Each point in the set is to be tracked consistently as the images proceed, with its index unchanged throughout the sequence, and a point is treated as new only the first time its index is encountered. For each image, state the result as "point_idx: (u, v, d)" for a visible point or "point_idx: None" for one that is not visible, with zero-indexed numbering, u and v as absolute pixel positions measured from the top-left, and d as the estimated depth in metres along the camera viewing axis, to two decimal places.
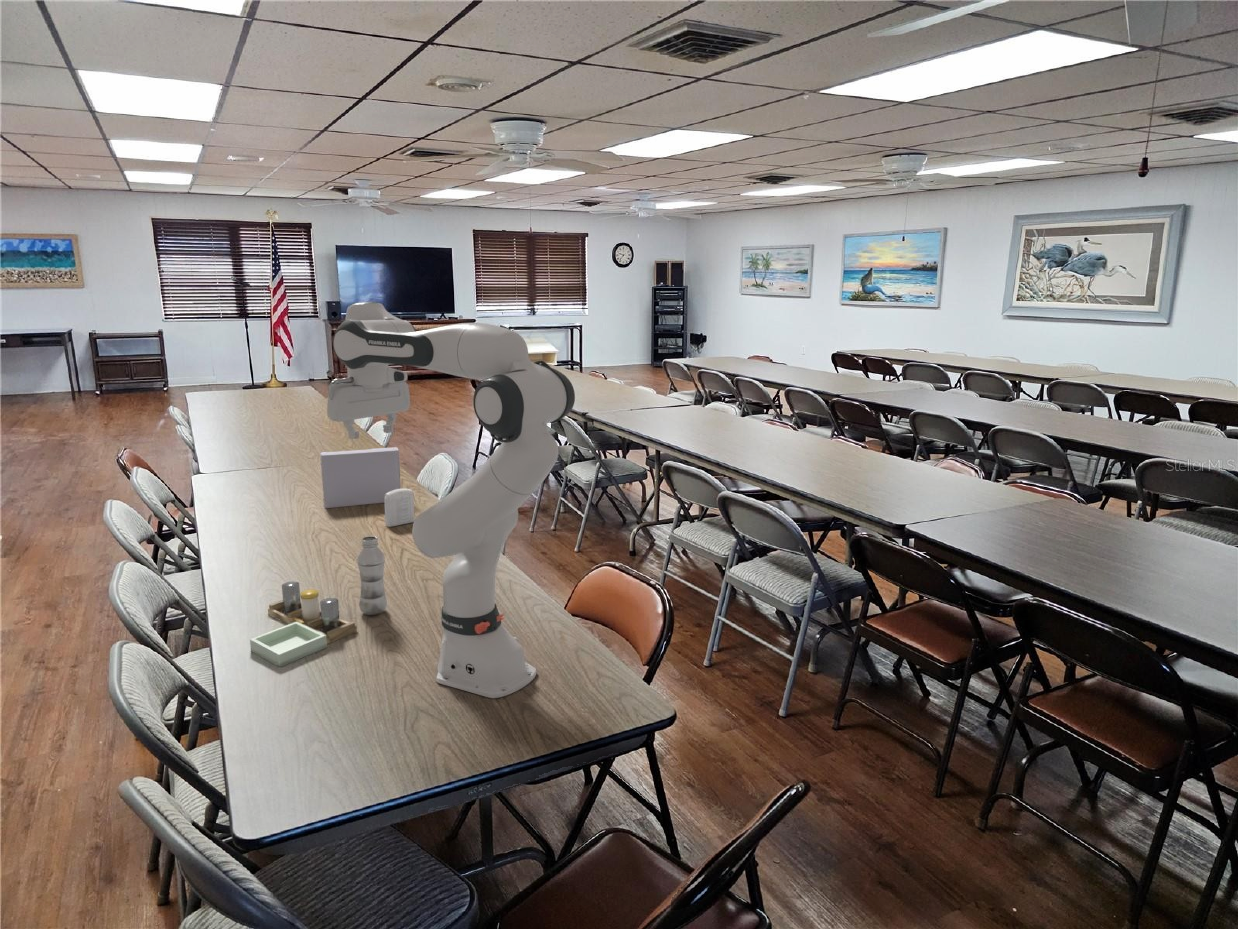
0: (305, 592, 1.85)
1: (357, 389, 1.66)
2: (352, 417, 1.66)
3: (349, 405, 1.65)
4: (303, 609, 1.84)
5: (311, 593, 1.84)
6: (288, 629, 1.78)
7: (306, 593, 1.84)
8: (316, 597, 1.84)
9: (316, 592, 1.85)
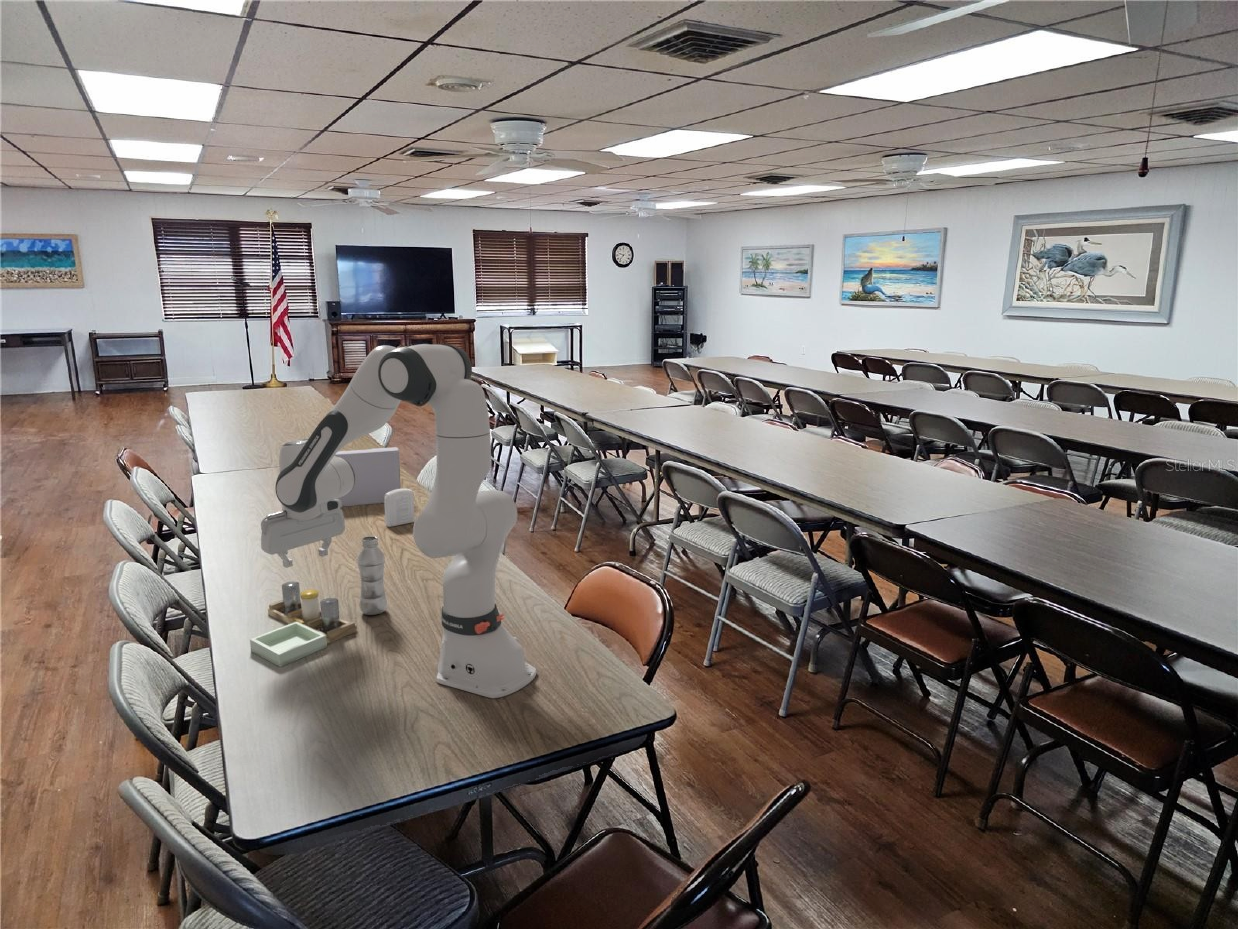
0: (305, 592, 1.85)
1: (290, 522, 1.75)
2: (285, 549, 1.75)
3: (282, 538, 1.74)
4: (303, 609, 1.84)
5: (311, 593, 1.84)
6: (288, 629, 1.78)
7: (306, 593, 1.84)
8: (316, 597, 1.84)
9: (316, 592, 1.85)
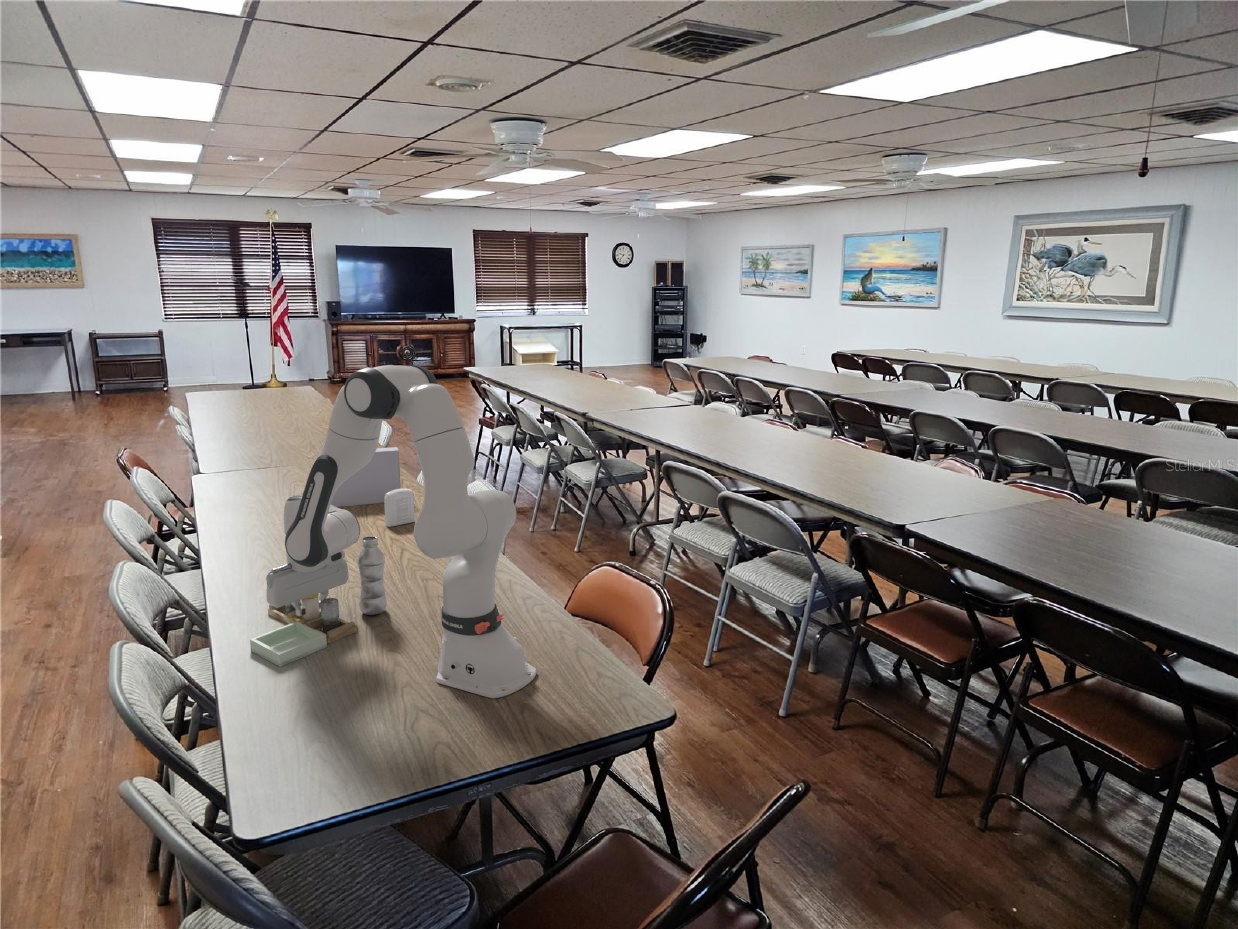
0: None
1: (295, 575, 1.78)
2: (290, 601, 1.78)
3: (287, 591, 1.77)
4: None
5: None
6: (288, 629, 1.78)
7: None
8: (316, 597, 1.84)
9: None
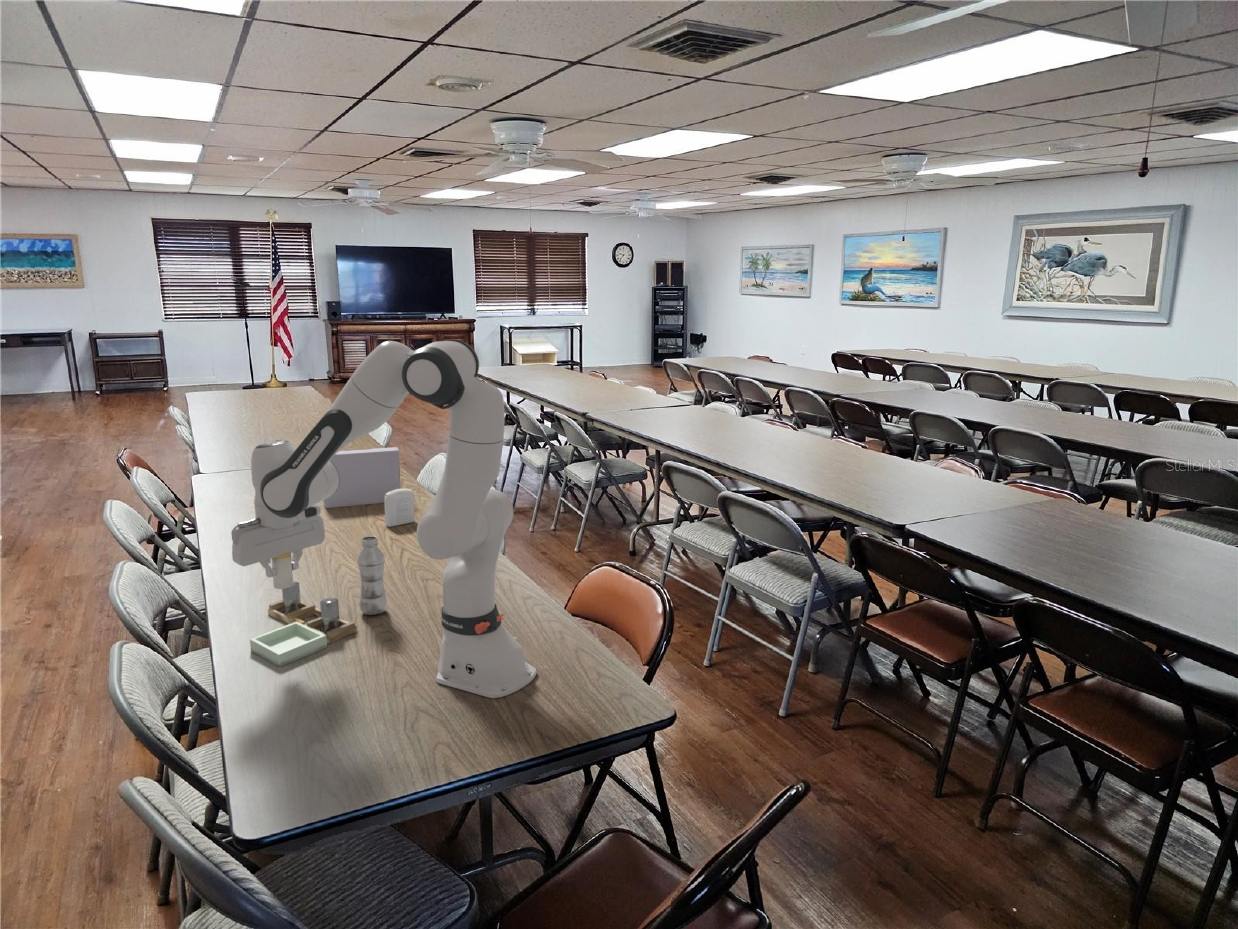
0: None
1: (264, 531, 1.61)
2: (259, 560, 1.61)
3: (255, 548, 1.60)
4: None
5: None
6: (288, 629, 1.78)
7: None
8: (288, 556, 1.67)
9: None
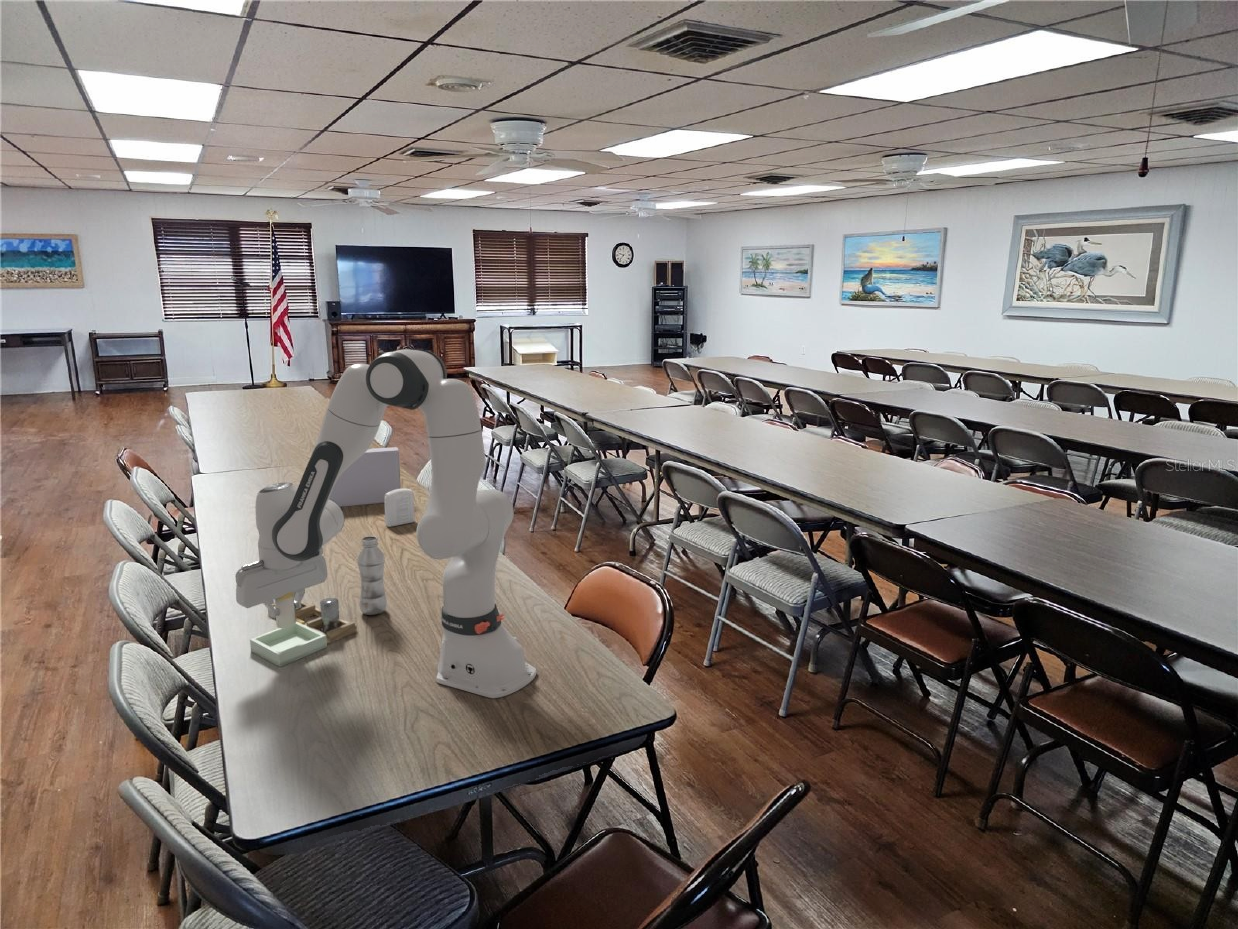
0: None
1: (267, 573, 1.64)
2: (262, 601, 1.64)
3: (258, 590, 1.63)
4: None
5: None
6: (288, 629, 1.78)
7: None
8: (291, 597, 1.69)
9: None
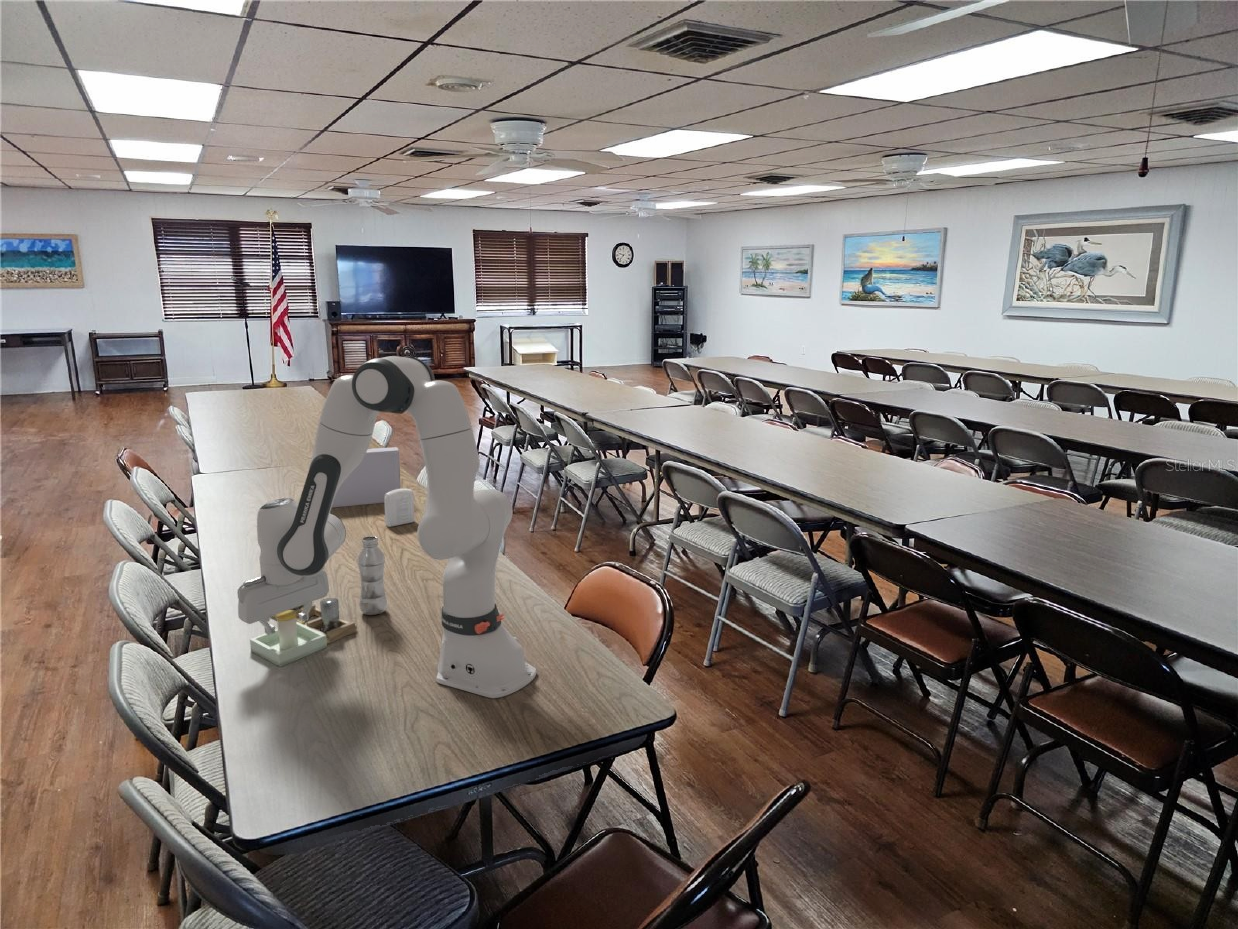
0: (281, 613, 1.71)
1: (269, 588, 1.65)
2: (264, 617, 1.65)
3: (260, 606, 1.64)
4: (279, 632, 1.70)
5: (288, 614, 1.71)
6: None
7: (282, 614, 1.71)
8: (293, 618, 1.71)
9: (293, 613, 1.71)
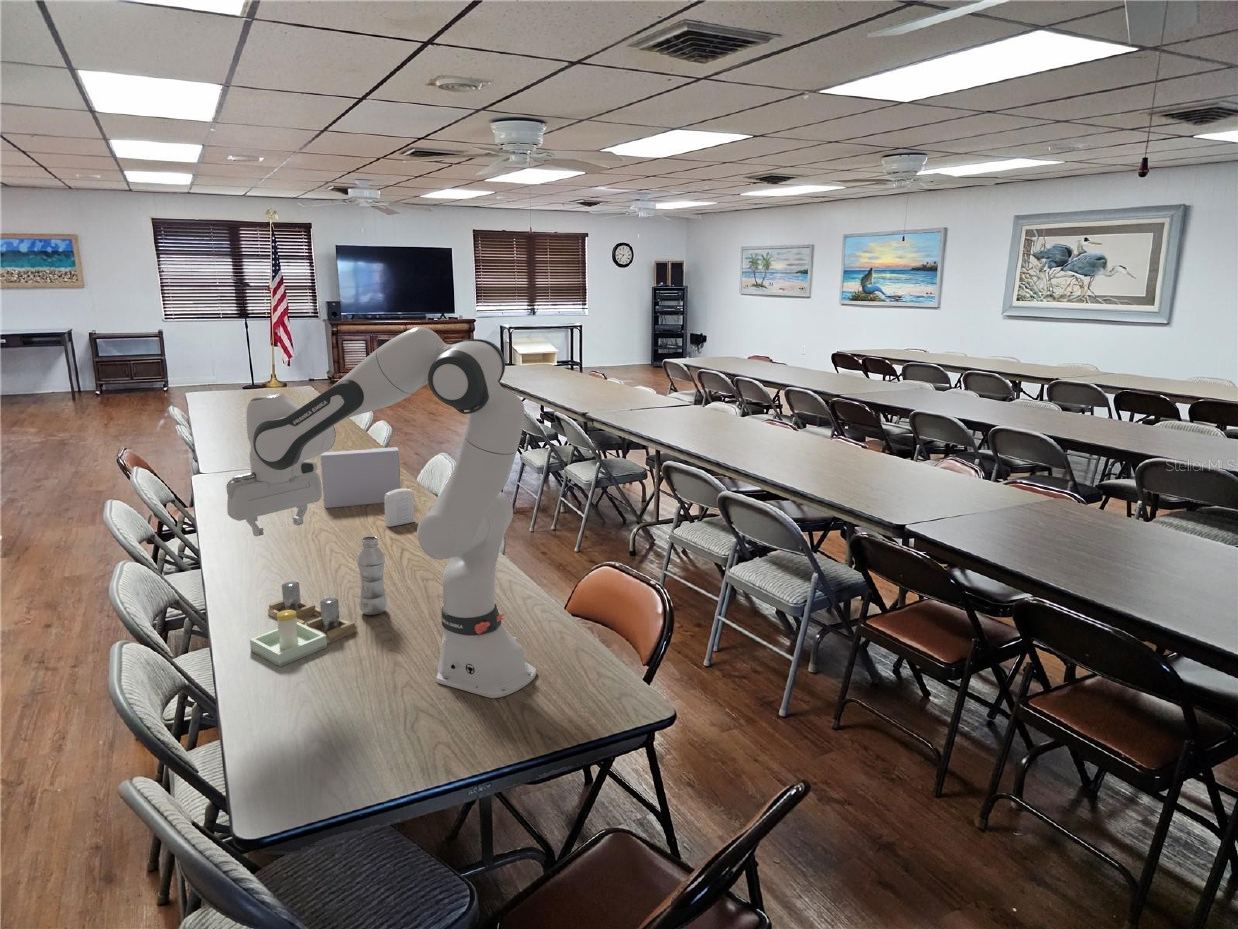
0: (282, 613, 1.71)
1: (259, 485, 1.59)
2: (254, 515, 1.59)
3: (250, 503, 1.58)
4: (279, 631, 1.70)
5: (288, 614, 1.71)
6: None
7: (283, 614, 1.71)
8: (294, 618, 1.71)
9: (294, 613, 1.72)
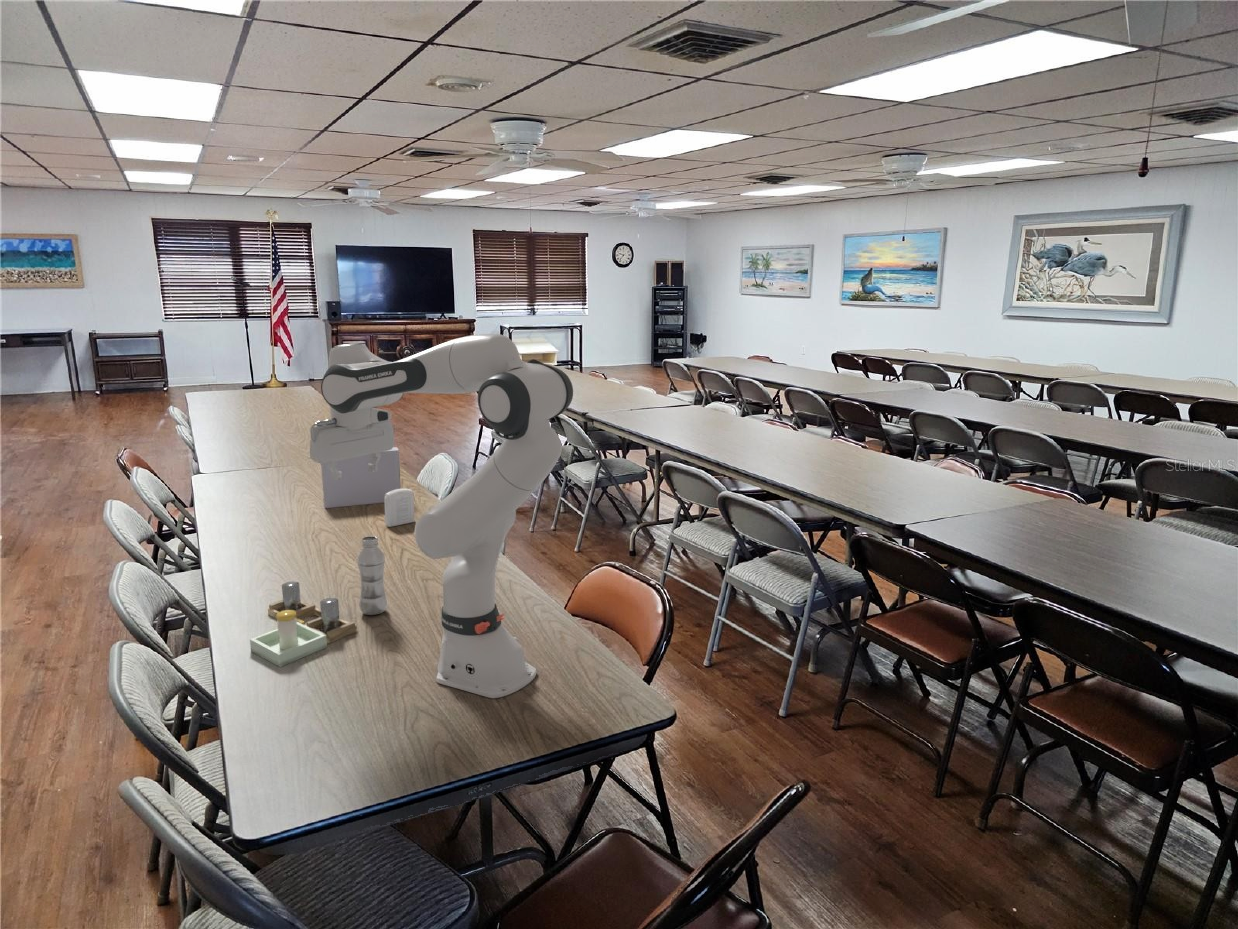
0: (281, 613, 1.71)
1: (340, 430, 1.66)
2: (335, 458, 1.66)
3: (332, 447, 1.65)
4: (279, 631, 1.70)
5: (288, 614, 1.71)
6: None
7: (282, 614, 1.71)
8: (293, 619, 1.71)
9: (293, 613, 1.71)
